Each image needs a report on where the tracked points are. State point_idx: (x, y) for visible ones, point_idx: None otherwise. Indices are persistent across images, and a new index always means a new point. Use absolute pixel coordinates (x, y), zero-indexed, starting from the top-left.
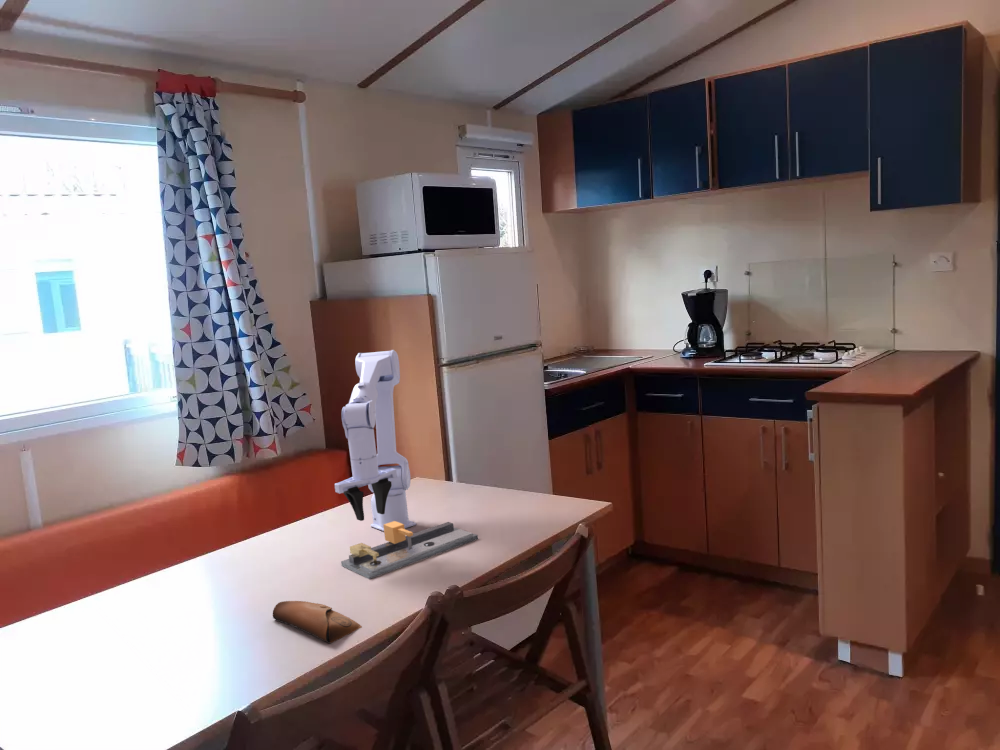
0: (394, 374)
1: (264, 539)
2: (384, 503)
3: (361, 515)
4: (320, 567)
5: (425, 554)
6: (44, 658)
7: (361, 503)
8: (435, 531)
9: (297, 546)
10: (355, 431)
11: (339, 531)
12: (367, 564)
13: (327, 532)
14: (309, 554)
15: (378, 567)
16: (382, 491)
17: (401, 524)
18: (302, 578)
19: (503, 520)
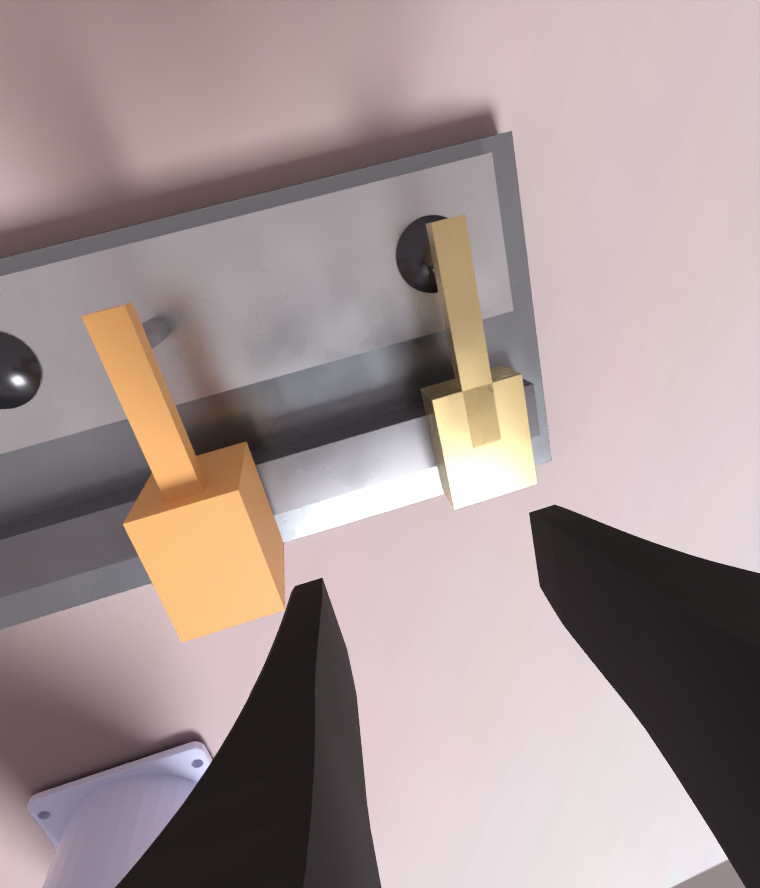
0: None
1: (646, 876)
2: (286, 655)
3: (588, 520)
4: (619, 493)
5: (65, 243)
6: None
7: (689, 589)
8: None
9: (590, 770)
10: None
11: (399, 854)
12: (478, 270)
13: (443, 860)
14: (591, 668)
15: (438, 167)
16: (316, 806)
17: (146, 531)
18: (731, 405)
19: None
